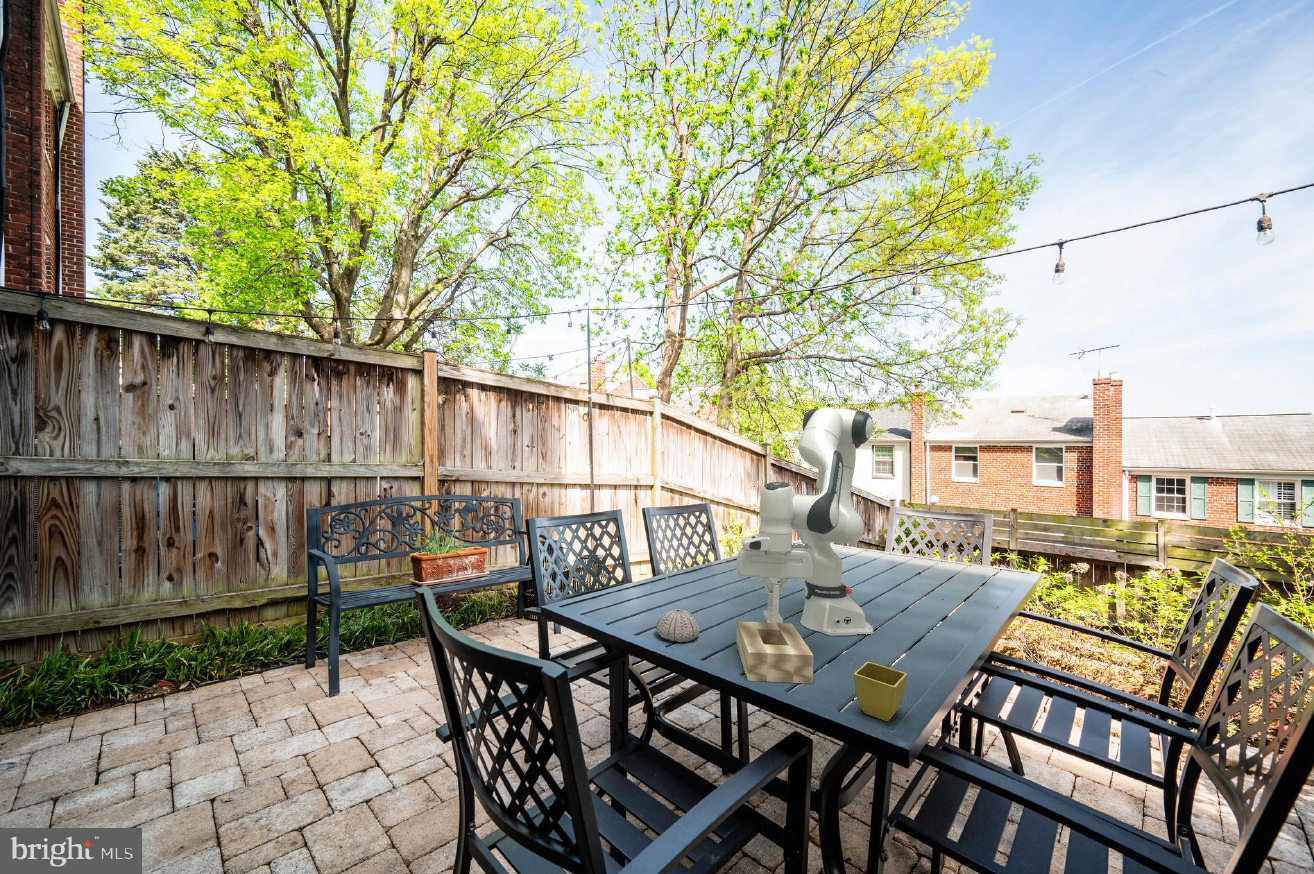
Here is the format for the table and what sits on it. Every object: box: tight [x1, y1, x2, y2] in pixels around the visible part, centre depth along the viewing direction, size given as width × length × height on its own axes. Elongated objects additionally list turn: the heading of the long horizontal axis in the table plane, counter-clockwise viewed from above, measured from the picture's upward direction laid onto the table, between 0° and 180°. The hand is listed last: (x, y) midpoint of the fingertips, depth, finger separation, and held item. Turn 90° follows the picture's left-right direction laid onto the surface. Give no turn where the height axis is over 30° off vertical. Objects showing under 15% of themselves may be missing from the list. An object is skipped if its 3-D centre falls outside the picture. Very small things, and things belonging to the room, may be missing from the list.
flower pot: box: [853, 661, 908, 722], centre depth 111 cm, size 9×9×9 cm
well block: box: [735, 620, 814, 685], centre depth 136 cm, size 16×22×7 cm
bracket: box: [762, 578, 784, 623], centre depth 136 cm, size 4×7×10 cm, turn 178°
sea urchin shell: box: [655, 608, 701, 643], centre depth 153 cm, size 13×14×8 cm
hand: (773, 593), depth 136 cm, fingers closed on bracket
